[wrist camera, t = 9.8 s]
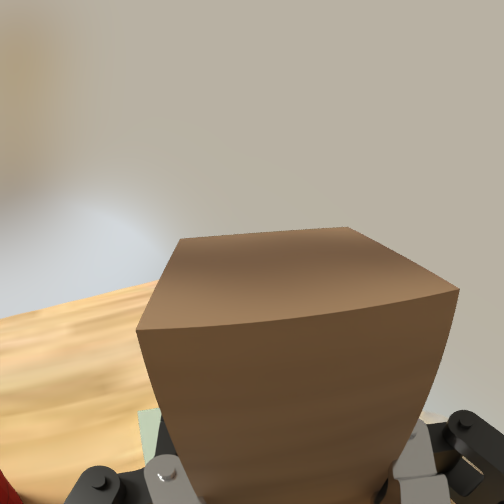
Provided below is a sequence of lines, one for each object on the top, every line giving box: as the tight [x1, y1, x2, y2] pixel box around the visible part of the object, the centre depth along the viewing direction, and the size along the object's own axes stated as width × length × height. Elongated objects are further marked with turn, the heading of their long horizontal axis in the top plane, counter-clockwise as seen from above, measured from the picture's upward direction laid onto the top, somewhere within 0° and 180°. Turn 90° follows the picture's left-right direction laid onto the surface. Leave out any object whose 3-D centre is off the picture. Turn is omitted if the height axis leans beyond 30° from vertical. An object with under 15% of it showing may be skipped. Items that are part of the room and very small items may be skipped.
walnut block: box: [136, 227, 460, 504], centre depth 8 cm, size 5×5×13 cm
